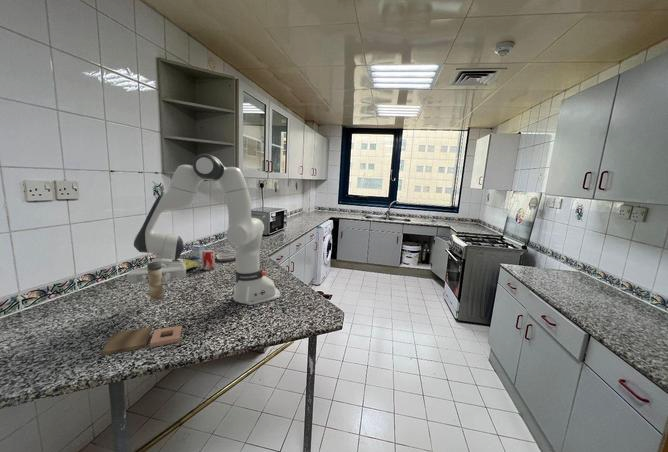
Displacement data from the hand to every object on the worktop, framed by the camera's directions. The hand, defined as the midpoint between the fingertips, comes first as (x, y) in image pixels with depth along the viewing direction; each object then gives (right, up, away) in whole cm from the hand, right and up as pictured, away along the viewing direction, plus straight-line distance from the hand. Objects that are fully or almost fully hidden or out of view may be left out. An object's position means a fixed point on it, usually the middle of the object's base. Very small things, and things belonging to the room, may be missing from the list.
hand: (154, 280), depth 106 cm
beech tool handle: (-1, -7, +2) cm, 8 cm away
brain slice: (-7, -3, +93) cm, 93 cm away
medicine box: (-28, -2, +92) cm, 96 cm away
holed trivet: (+7, -20, -4) cm, 22 cm away
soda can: (-11, -7, +69) cm, 70 cm away
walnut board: (-5, -20, -7) cm, 22 cm away
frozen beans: (-31, -7, +66) cm, 73 cm away
